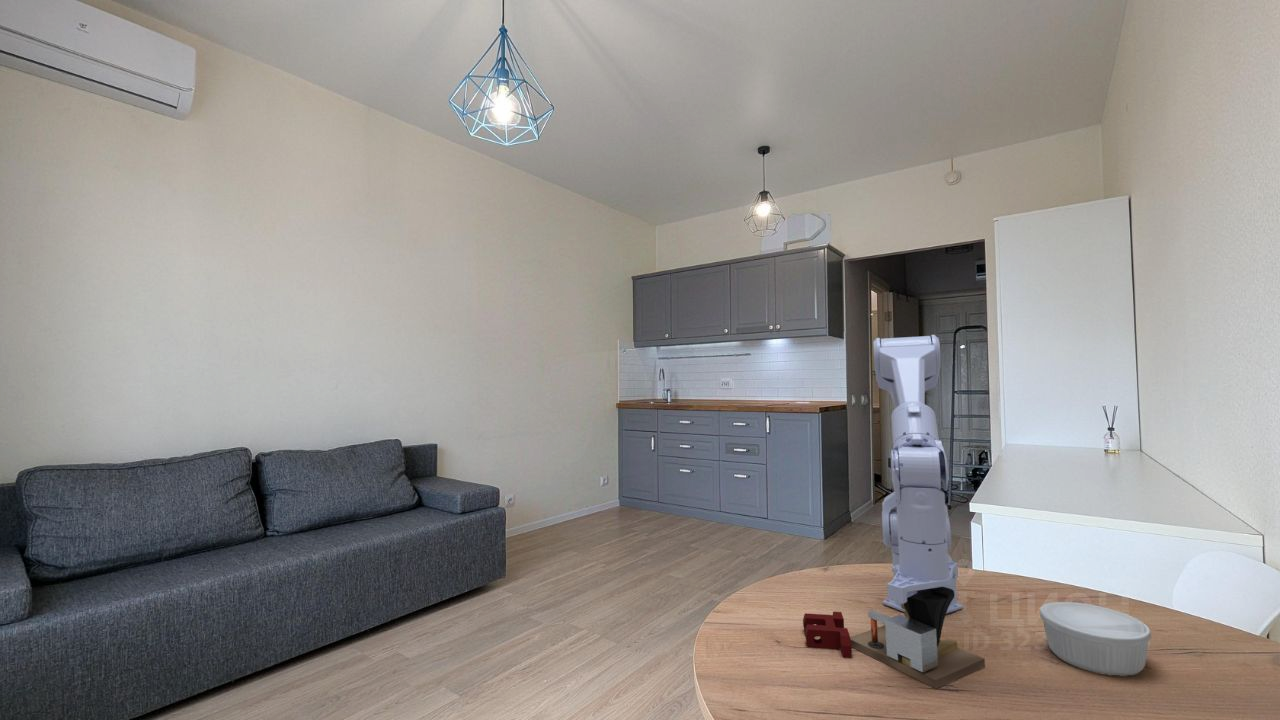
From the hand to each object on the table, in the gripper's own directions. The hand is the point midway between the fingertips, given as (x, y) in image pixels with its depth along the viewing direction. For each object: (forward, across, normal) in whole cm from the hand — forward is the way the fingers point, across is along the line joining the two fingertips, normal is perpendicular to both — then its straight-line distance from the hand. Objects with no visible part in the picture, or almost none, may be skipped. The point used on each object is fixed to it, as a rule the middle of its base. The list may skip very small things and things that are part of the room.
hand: (928, 645), depth 71 cm
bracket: (+3, +4, -13) cm, 14 cm away
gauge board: (+2, -1, -2) cm, 3 cm away
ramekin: (+3, -18, +13) cm, 22 cm away
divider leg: (+1, +3, -2) cm, 4 cm away
